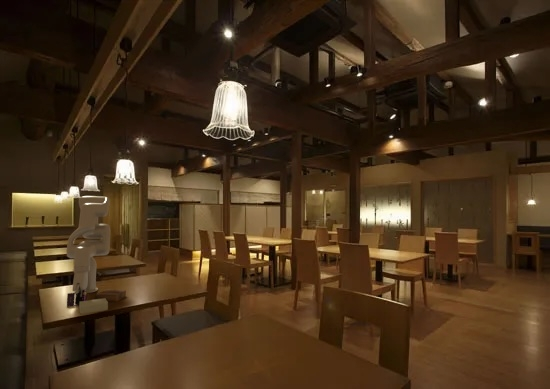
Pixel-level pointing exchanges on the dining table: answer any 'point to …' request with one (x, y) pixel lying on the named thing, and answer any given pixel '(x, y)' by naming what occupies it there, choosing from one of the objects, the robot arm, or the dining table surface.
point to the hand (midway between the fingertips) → (80, 302)
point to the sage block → (93, 306)
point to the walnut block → (111, 295)
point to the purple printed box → (72, 296)
